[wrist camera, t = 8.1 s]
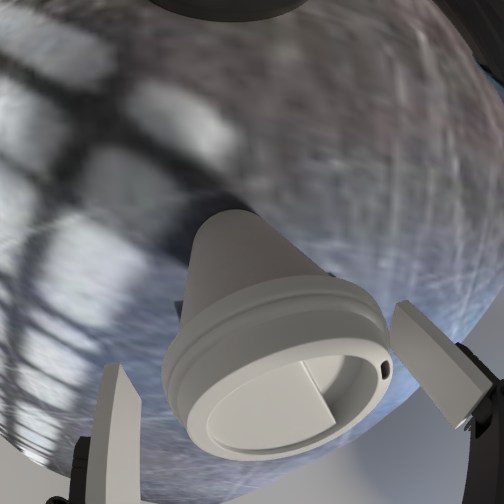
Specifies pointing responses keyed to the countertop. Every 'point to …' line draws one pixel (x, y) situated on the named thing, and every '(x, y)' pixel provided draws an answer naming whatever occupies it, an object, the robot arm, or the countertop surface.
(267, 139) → the countertop surface
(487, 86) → the countertop surface
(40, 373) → the countertop surface
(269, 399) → the coffee cup
